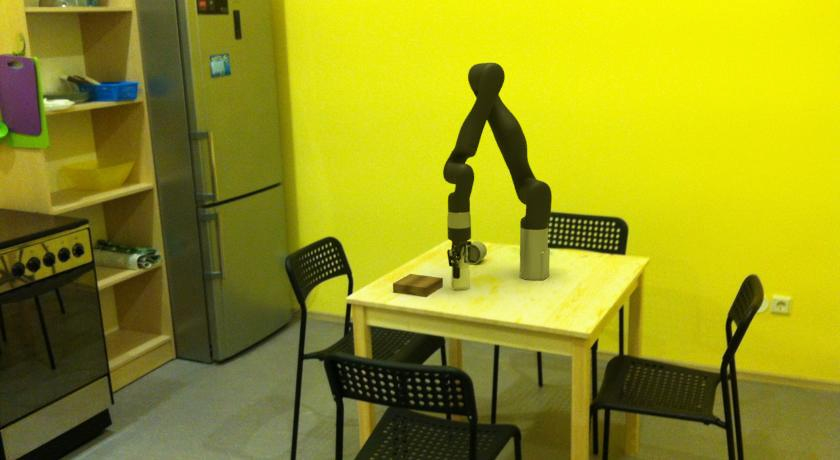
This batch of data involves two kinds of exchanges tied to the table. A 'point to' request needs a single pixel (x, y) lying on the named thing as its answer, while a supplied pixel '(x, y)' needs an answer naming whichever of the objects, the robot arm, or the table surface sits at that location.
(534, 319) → the table surface
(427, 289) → the walnut plinth
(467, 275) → the squeeze bottle
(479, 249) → the ceramic mug
